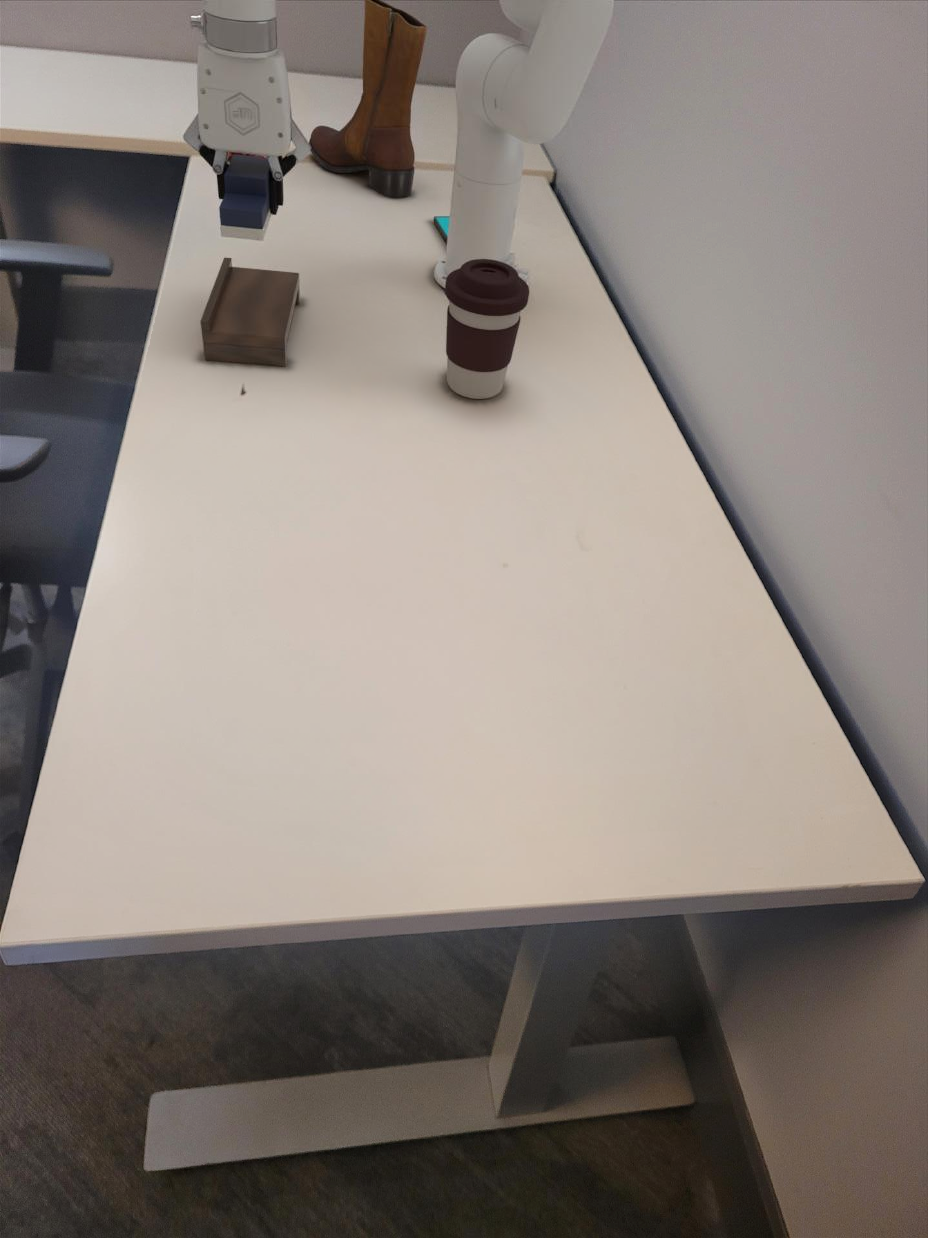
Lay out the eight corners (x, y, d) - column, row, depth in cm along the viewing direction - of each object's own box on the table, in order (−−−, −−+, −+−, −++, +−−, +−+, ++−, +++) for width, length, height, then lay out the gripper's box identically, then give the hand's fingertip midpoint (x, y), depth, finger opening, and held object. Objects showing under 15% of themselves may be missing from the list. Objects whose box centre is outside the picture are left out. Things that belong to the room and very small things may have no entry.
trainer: (236, 197, 107) (233, 153, 104) (275, 201, 108) (273, 157, 104) (221, 236, 99) (216, 189, 95) (263, 240, 99) (260, 194, 96)
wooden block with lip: (299, 300, 120) (298, 263, 116) (285, 366, 107) (284, 328, 104) (227, 293, 119) (224, 256, 115) (204, 360, 106) (200, 321, 103)
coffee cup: (488, 415, 105) (505, 299, 94) (421, 386, 108) (430, 270, 97) (526, 383, 111) (546, 270, 100) (461, 356, 114) (475, 244, 103)
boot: (300, 155, 159) (296, -22, 140) (342, 149, 163) (343, -23, 144) (379, 205, 147) (386, 19, 127) (421, 197, 151) (435, 16, 132)
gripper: (152, 31, 88) (174, 212, 101) (317, 52, 90) (319, 227, 103) (167, 14, 93) (187, 189, 106) (323, 34, 95) (324, 203, 108)
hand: (251, 206), depth 105 cm, fingers closed on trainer, 4 cm apart
